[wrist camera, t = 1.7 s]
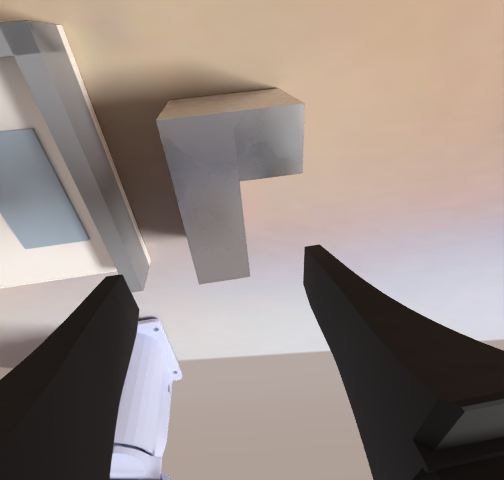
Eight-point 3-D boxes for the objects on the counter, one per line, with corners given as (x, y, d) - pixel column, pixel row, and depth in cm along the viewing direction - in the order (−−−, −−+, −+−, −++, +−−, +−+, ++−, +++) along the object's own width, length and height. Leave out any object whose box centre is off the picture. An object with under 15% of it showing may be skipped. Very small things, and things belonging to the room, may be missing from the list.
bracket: (281, 225, 21) (300, 269, 17) (200, 236, 20) (199, 284, 16) (278, 88, 15) (304, 103, 11) (169, 100, 15) (155, 120, 11)
